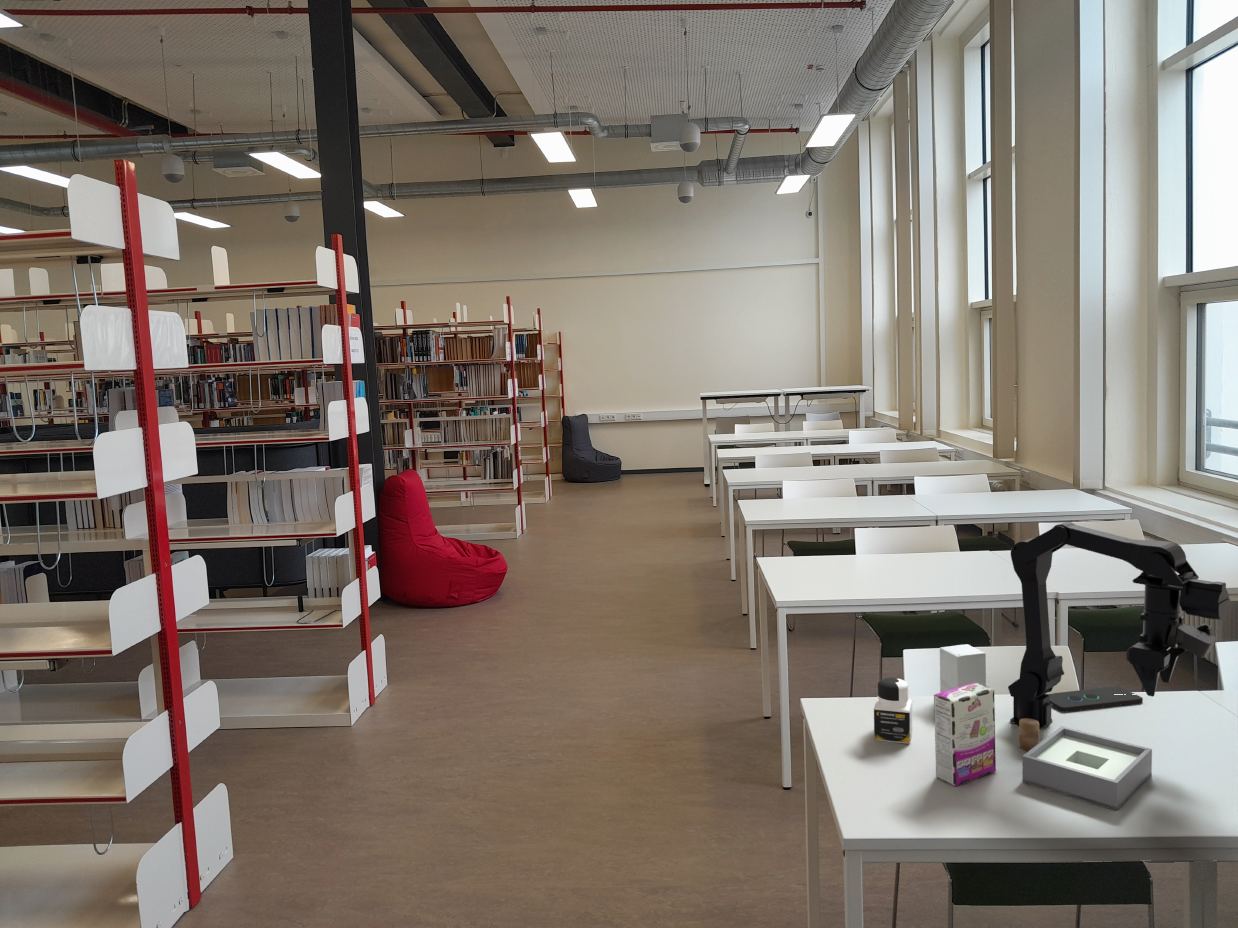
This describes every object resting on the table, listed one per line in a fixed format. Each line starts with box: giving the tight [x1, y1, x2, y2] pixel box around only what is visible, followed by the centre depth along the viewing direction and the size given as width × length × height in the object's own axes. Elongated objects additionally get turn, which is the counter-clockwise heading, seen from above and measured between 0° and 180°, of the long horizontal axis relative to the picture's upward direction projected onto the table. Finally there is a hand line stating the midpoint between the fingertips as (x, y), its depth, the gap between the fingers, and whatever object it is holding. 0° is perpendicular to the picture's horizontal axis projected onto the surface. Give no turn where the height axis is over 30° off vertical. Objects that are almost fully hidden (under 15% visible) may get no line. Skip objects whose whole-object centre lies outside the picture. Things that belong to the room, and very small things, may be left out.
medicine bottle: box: [873, 677, 913, 745], centre depth 186 cm, size 7×7×12 cm
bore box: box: [1021, 726, 1153, 811], centre depth 164 cm, size 16×18×5 cm
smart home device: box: [1046, 685, 1144, 713], centre depth 200 cm, size 8×2×20 cm
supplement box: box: [939, 643, 987, 693], centre depth 201 cm, size 7×7×13 cm
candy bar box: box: [933, 682, 997, 787], centre depth 167 cm, size 11×5×16 cm, turn 117°
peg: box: [1018, 718, 1040, 753], centre depth 177 cm, size 4×4×6 cm
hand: (1158, 688), depth 169 cm, fingers open, 9 cm apart
